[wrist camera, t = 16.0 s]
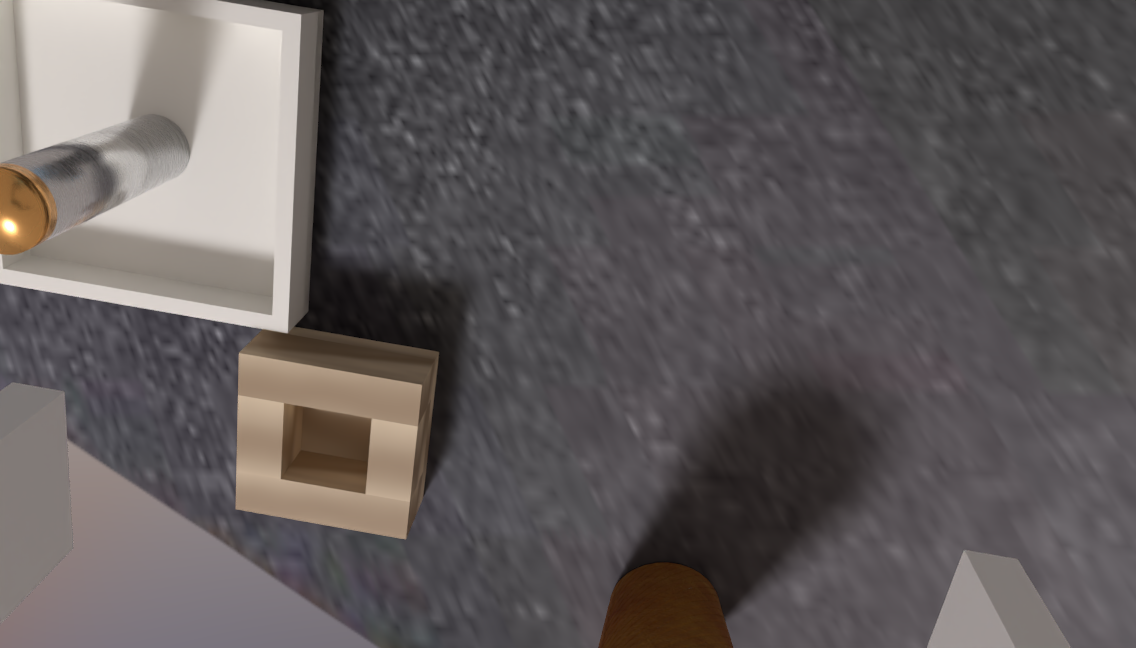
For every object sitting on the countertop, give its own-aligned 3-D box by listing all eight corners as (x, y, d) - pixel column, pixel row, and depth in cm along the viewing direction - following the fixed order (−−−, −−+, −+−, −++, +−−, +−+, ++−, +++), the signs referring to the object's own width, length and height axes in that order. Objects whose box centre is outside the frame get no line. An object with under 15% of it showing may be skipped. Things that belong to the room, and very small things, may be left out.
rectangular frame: (4, -44, 43) (-41, -43, 40) (323, 10, 43) (301, 14, 40) (25, 262, 49) (-12, 281, 46) (308, 311, 49) (287, 333, 46)
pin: (123, 108, 45) (-50, 162, 33) (190, 120, 44) (38, 177, 33) (125, 174, 46) (-41, 246, 35) (190, 185, 46) (43, 261, 35)
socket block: (269, 322, 49) (239, 352, 45) (439, 351, 49) (422, 385, 45) (264, 469, 52) (235, 509, 49) (423, 497, 52) (405, 539, 49)
